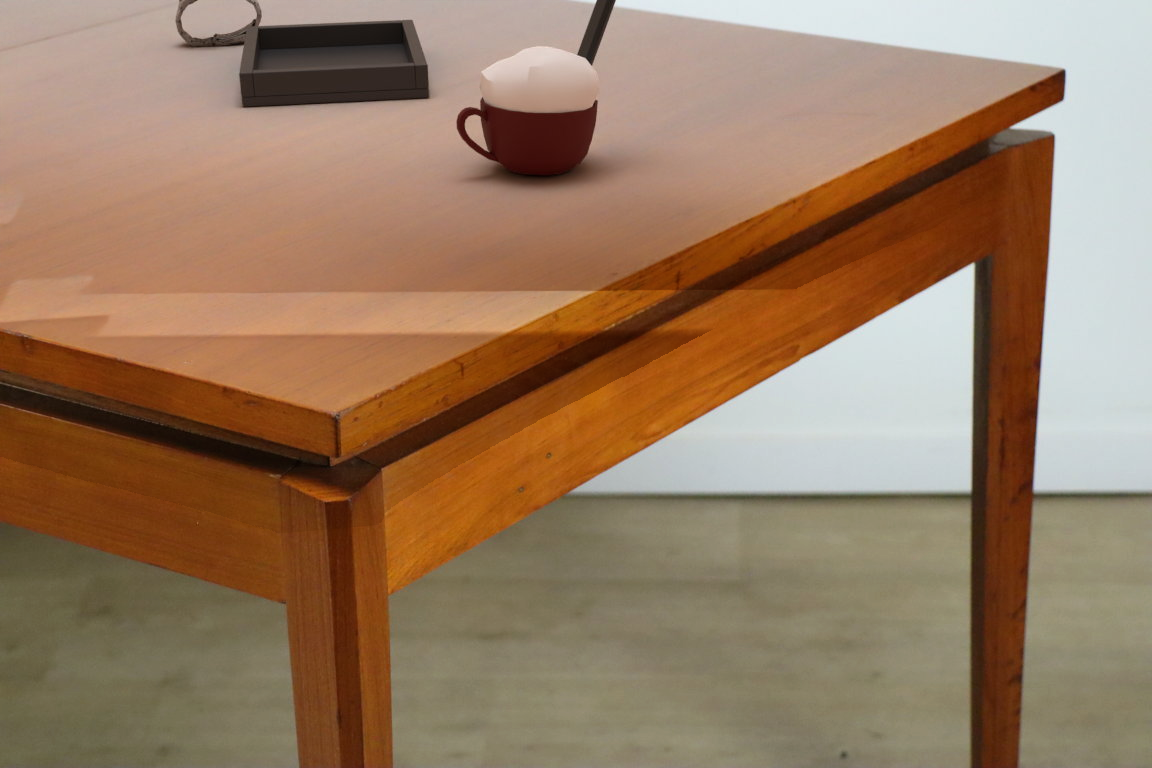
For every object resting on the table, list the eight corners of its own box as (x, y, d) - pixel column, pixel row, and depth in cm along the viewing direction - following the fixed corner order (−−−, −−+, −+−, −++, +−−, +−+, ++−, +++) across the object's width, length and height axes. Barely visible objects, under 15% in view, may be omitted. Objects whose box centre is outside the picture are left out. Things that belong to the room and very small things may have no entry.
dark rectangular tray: (242, 107, 94) (238, 73, 93) (250, 56, 107) (247, 26, 106) (429, 97, 96) (427, 64, 95) (414, 48, 109) (412, 19, 108)
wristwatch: (179, 40, 112) (171, -29, 110) (264, 36, 113) (258, -32, 111) (176, 50, 109) (168, -20, 107) (263, 46, 110) (257, -24, 108)
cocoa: (456, 185, 79) (446, -52, 74) (465, 152, 84) (456, -71, 79) (639, 184, 79) (641, -54, 74) (635, 151, 84) (637, -73, 79)
